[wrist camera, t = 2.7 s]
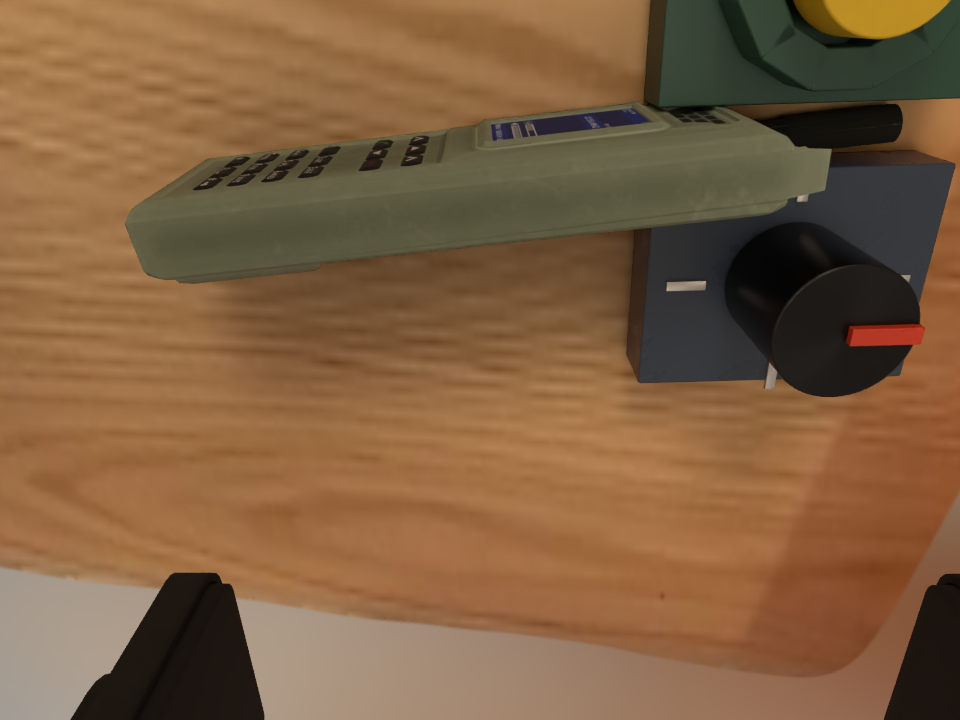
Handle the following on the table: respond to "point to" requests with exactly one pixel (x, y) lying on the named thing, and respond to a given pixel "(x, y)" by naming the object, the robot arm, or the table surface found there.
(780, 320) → the knob
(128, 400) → the table surface
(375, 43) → the table surface
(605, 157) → the handheld radio
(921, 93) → the green button base
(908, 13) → the yellow push button
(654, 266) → the nozzle panel
